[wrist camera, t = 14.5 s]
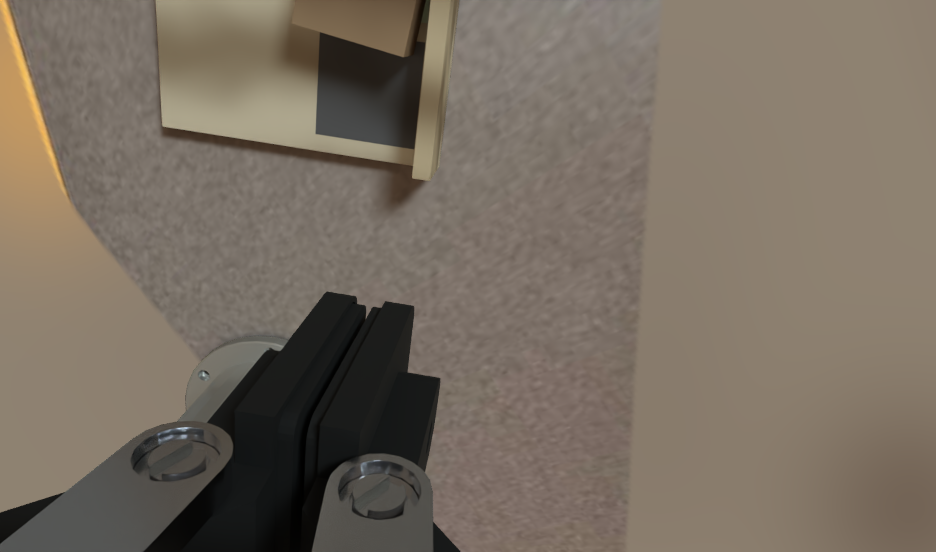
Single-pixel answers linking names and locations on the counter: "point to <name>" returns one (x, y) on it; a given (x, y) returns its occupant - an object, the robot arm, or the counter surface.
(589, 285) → the counter surface
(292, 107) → the board
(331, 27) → the block
